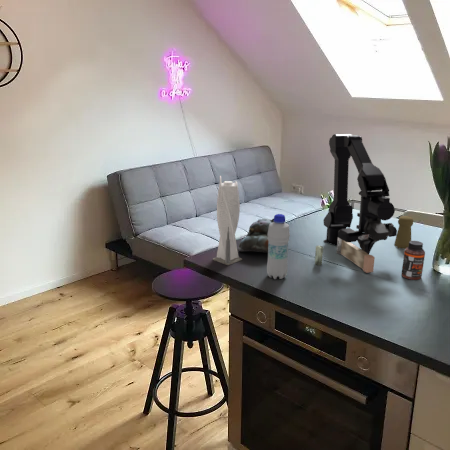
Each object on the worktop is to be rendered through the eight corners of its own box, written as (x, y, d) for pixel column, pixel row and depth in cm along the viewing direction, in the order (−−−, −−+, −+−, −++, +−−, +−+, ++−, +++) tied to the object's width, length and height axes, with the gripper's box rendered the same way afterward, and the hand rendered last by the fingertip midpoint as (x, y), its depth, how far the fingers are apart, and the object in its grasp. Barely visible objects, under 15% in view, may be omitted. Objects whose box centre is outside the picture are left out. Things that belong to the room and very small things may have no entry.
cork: (412, 249, 181) (416, 219, 178) (395, 247, 182) (398, 218, 179) (410, 243, 187) (413, 215, 183) (393, 242, 188) (396, 214, 185)
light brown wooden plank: (339, 254, 174) (341, 240, 173) (346, 253, 175) (347, 239, 173) (366, 272, 159) (367, 257, 157) (373, 271, 159) (374, 257, 158)
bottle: (289, 273, 158) (292, 212, 152) (285, 282, 152) (288, 218, 146) (268, 271, 160) (271, 210, 154) (263, 279, 154) (265, 216, 148)
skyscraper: (209, 258, 170) (209, 177, 162) (226, 252, 176) (226, 173, 167) (228, 265, 165) (229, 181, 156) (244, 258, 170) (246, 177, 162)
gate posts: (313, 264, 166) (314, 244, 164) (338, 251, 178) (340, 232, 176) (319, 266, 165) (321, 245, 163) (344, 253, 177) (346, 234, 174)
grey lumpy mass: (230, 250, 178) (237, 212, 180) (257, 258, 184) (264, 221, 186) (255, 250, 165) (263, 209, 167) (283, 259, 171) (290, 219, 174)
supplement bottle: (411, 282, 153) (416, 247, 150) (397, 275, 158) (401, 241, 155) (425, 278, 156) (430, 244, 153) (410, 271, 161) (415, 238, 158)
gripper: (358, 221, 151) (354, 270, 155) (410, 215, 156) (405, 262, 161) (338, 211, 161) (335, 257, 165) (388, 206, 166) (384, 250, 171)
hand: (365, 257), depth 165 cm, fingers closed
